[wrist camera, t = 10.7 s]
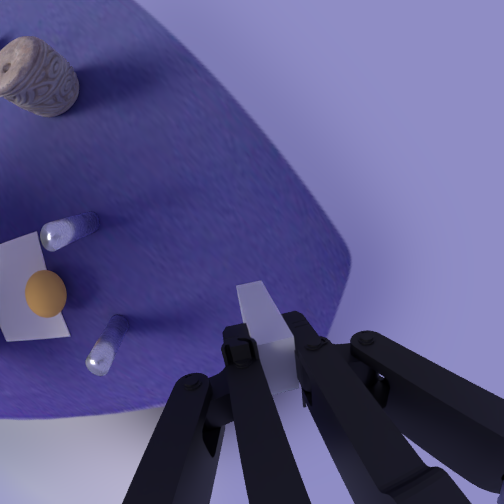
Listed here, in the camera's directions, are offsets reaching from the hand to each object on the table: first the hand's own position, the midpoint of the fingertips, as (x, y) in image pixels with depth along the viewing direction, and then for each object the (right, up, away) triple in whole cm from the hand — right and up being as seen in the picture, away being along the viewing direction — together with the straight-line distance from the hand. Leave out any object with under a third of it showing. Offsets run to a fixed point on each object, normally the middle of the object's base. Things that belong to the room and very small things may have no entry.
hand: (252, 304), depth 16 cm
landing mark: (-32, -2, +11) cm, 33 cm away
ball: (-24, -2, +9) cm, 25 cm away
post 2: (-16, -5, +14) cm, 22 cm away
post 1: (-18, +6, +11) cm, 22 cm away
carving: (-22, +22, +7) cm, 32 cm away
